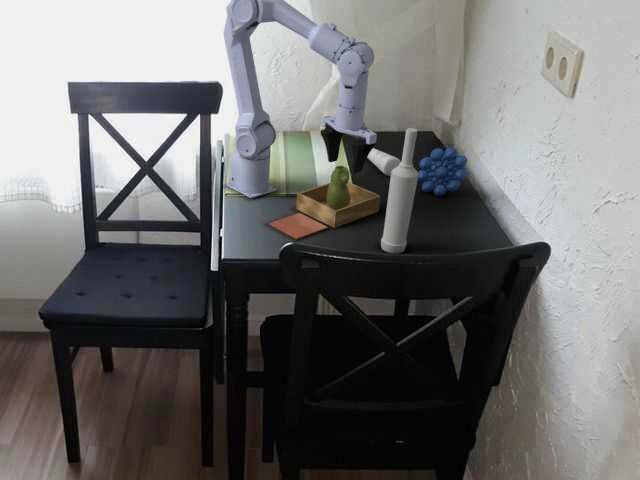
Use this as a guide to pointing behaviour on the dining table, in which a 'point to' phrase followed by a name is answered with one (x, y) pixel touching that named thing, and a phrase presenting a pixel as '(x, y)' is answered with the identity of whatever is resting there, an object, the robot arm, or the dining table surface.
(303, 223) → the coaster
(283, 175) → the dining table surface
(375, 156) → the unicorn horn
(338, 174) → the pear
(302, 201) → the wooden shallow box
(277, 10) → the robot arm
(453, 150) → the blue knobbed flower
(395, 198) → the bottle
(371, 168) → the dining table surface
